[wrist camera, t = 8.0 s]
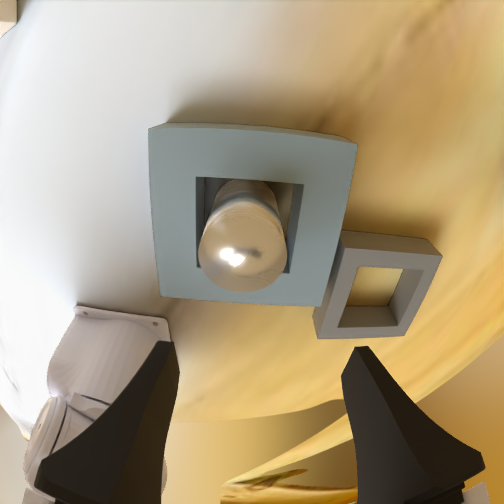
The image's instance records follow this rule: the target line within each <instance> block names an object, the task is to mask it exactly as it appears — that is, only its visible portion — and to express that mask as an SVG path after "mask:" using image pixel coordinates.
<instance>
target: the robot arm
mask: <svg viewBox="0 0 504 504" xmlns="http://www.w3.org/2000/svg"><path fill="white" fill-rule="evenodd" d="M73 311H74V313H75V317H74V319H73V321H72V322H71V324H70V326H69V327H68V329H67V331H66V332H65V334H64V336H63V338H62V339H61V341H60V343H59V345H58V347H57V348H56V350H55V352H54V354H53V356H52V358H51V360H50V363H49V367H48V372H47V386H48V390H49V393H50V395H51V398H49V399H48V400H47V402H46V403H45V405H44V407H43V408H42V410H41V412H40V414H39V416H38V418H37V421H36V423H35V425H34V428H33V431H32V433H31V436H30V440H29V443H28V448H27V451H26V453H25V457H24V463H23V470H24V472H25V479H26V481H27V483H28V484H29V486H30V487H31V488H32V490H31V489H29V488H26V490H25V494H24V498H23V502H22V504H161V495H162V493H163V491H164V488H165V485H166V481H167V466H166V462H165V458H164V450H165V443H166V438H167V433H168V430H169V425H170V421H171V417H172V413H173V409H174V405H175V400H176V396H177V390H178V383H179V374H180V371H179V366H178V361H177V356H176V351H175V346H174V342H171V340H170V334H169V328H168V322H167V321H166V320H165V319H164V318H159V317H151V316H143V315H135V314H128V313H121V312H114V311H107V310H101V309H95V308H89V307H83V306H75V307H74V309H73ZM155 322H157V323H155ZM341 380H342V389H343V396H344V400H345V405H346V409H347V413H348V417H349V421H350V425H351V429H352V434H353V438H354V443H355V449H356V459H357V471H358V472H357V475H358V501H357V504H490V500H489V496H488V492H487V488H486V484H485V482H484V481H483V482H481V483H479V484H478V485H476V486H474V487H473V488H470V489H469V490H467V491H465V492H463V493H462V490H461V489H463V488H464V487H465V484H464V481H466V480H468V479H469V478H471V477H473V476H475V475H476V474H478V473H480V472H481V471H483V470H484V469H485V464H484V461H483V458H482V455H481V452H479V451H477V450H475V449H473V448H471V447H469V446H467V445H466V444H464V443H462V442H461V441H459V440H458V439H456V438H454V437H453V436H452V435H450V434H449V433H447V432H446V431H445V430H444V429H442V428H441V427H440V426H438V425H437V424H436V423H435V422H434V421H432V420H431V419H430V418H429V417H428V416H427V415H426V414H425V413H424V412H423V411H422V410H420V409H419V407H418V406H417V405H416V404H415V403H414V402H413V401H412V400H411V399H410V398H409V397H408V396H407V394H406V393H405V392H404V391H403V390H402V389H401V387H400V386H399V385H398V384H397V382H396V381H395V380H394V379H393V378H392V376H391V375H390V374H389V372H388V371H387V370H386V369H385V367H384V366H383V365H382V363H381V362H380V361H379V359H378V358H377V357H376V356H375V354H374V353H373V352H372V350H371V349H370V348H369V347H368V346H361V347H355V348H354V350H353V352H352V354H351V356H350V358H349V361H348V363H347V365H346V367H345V369H344V371H343V373H342V375H341Z"/></svg>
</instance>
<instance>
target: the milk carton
mask: <svg viewBox="0 0 504 504" xmlns="http://www.w3.org/2000/svg"><path fill="white" fill-rule="evenodd" d="M16 23H17V0H0V38H1V37H2V36H3V35H4V34H5V33H6V32H8V31H9V30H10V29H11V28H12V27H13V26H14V25H15V24H16Z"/></svg>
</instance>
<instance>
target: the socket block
mask: <svg viewBox="0 0 504 504" xmlns="http://www.w3.org/2000/svg"><path fill="white" fill-rule="evenodd" d="M148 139H149V179H150V198H151V213H152V225H153V237H154V247H155V256H156V265H157V273H158V280H159V288H160V295H161V297H171V298H182V299H193V300H205V301H218V302H232V303H248V304H266V305H287V306H316V307H321V304H322V300H323V297H324V293H325V290H326V286H327V283H328V279H329V275H330V272H331V268H332V264H333V260H334V256H335V252H336V248H337V244H338V240H339V236H340V232H341V228H342V223H343V219H344V215H345V210H346V205H347V201H348V196H349V191H350V186H351V181H352V176H353V171H354V165H355V160H356V154H357V148H358V144H356V143H354V142H352V141H350V140H348V139H346V138H344V137H342V136H337V135H331V134H324V133H318V132H311V131H304V130H296V129H287V128H278V127H268V126H256V125H242V124H223V123H164V124H161V125H158V126H155V127H152V128H149V129H148ZM204 177H217V178H234V179H249V180H262V181H274V182H285V183H294V188H293V195H292V202H291V209H290V216H289V223H288V229H287V236H286V243H285V244H286V249H287V261H286V265H285V268H284V270H283V272H282V274H281V275H280V276H279V277H278V279H277V280H276V281H274V282H273V283H272V284H271V285H269V286H267V287H265V288H263V289H261V290H258V291H253V292H233V291H229V290H226V289H224V288H221V287H219V286H218V285H216V284H215V283H213V282H212V281H211V280H210V279H209V278H208V277H207V276H206V275H205V273H204V272H203V270H202V268H201V266H200V263H199V258H198V249H199V245H200V242H201V238H202V235H203V232H204Z"/></svg>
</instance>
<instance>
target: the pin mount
mask: <svg viewBox="0 0 504 504" xmlns="http://www.w3.org/2000/svg"><path fill="white" fill-rule="evenodd" d="M442 257H443V256H442V255H441V253H440V252H439V251H438V250H437V249H436V248H435V247H434V246H433V245H432V244H431V243H430V242H429V241H428V240H427V239H421V238H412V237H404V236H395V235H386V234H376V233H367V232H357V231H347V230H341V232H340V236H339V240H338V244H337V248H336V252H335V256H334V260H333V264H332V268H331V272H330V275H329V279H328V283H327V286H326V290H325V293H324V297H323V300H322V304H321V307H316V306H315V310H314V313H313V321H314V326H315V330H316V335H317V339H354V338H379V337H396V336H404V335H405V334H406V332H407V330H408V328H409V326H410V325H411V323H412V321H413V319H414V317H415V315H416V313H417V311H418V309H419V307H420V305H421V303H422V301H423V299H424V297H425V295H426V293H427V291H428V289H429V287H430V285H431V282H432V280H433V278H434V276H435V273H436V271H437V269H438V266H439V264H440V262H441V259H442ZM358 266H362V267H380V268H398V269H403V272H402V274H401V277H400V279H399V282H398V284H397V287H396V289H395V292H394V294H393V296H392V298H391V301H390V303H389V305H388V306H345V305H346V302H347V299H348V296H349V294H350V291H351V288H352V285H353V282H354V279H355V275H356V272H357V269H358Z"/></svg>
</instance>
